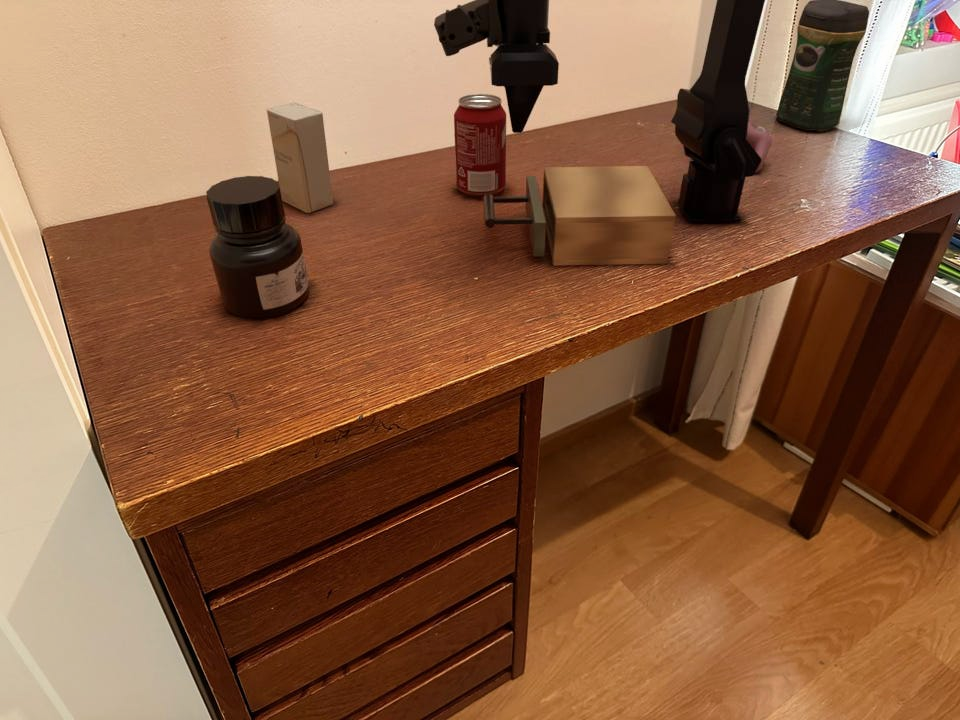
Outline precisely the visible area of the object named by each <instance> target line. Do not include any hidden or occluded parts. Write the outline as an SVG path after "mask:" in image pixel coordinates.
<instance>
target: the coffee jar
mask: <svg viewBox="0 0 960 720" xmlns="http://www.w3.org/2000/svg"><path fill="white" fill-rule="evenodd" d="M869 18H870V10H869V7H868V6H867V5H863V4H858V3H854V2H850V1H845V0H809V1H808V2H807V3H806V4H805V6H804V7H803V9H802V12H801V15H800V17H799V20H798V24H797V30H796V31H797V32H796V33H797V36H796V37H797V38H796V45H795V49H794V50H795V51H794V54H793V58H792V61H791V64H790V68H789V72H788V75H787V78H786V81H785V84H784V88H783V90H782V94H781V97H780V99H779V103H778V107H777V111H776V119H777V120H778V121H780V122H782V123H783V124H784V123H785V124H786V125H789V126H791V127H794V128H797V129H800V130H804V131H819V132H826V131H829V130H832V129H834V128H836V127H837V126H838V125H839V124H840V122H841V121H840V120H841V117H842V112H843V108H844V104H845V98H846V93H847V88H848V83H849V80H850V75H851V71H852V67H853V63H854V58H855V55H856V52H857V50H858V47H859V45H860V44H861V41H862V40H863V39H864V37H865V35H866V32H867V29H868V21H869Z"/></svg>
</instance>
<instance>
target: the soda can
mask: <svg viewBox="0 0 960 720" xmlns="http://www.w3.org/2000/svg"><path fill="white" fill-rule="evenodd" d="M502 100H503V99H502V98H501V97H500V96H497V95H494V94H488V93H472V94H466V95H463V96H461V97H460V98H458V101H457V103H458V106H457V107H456V110H455V112H453V113H454V114H453V127H454V128H453V129H454V159H455V161H454V162H455V163H454V164H455V184H456V185H455V186H456V188H457V189H458V191H460V192H462V193H464V194H465V195H467V196H471V197H476V198H477V197H478V198H484V196H485V195H486V194H491V195H492V196H494V195H496V194H497V193H499V192H501V191H502V190H504V189H505V188H506V184H507V183H506V179H507V178H506V176H507V175H506V173H507V112H506V110H505V108H504V107H503V105H502V103H503V101H502Z"/></svg>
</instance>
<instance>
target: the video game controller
mask: <svg viewBox="0 0 960 720" xmlns="http://www.w3.org/2000/svg"><path fill="white" fill-rule="evenodd" d="M746 139H747V141H748V142H749V143H750V145H751V146H752V147H753V148H754V150H755V151H756V152H757V154H758V155H759V156H760V157H761V159H762V161H761V163H760V165H759V167H758V168H757V170H756V172H755V174H757V173H759V171H760V170H761V169H762V168H763V166H764V164H765V161H766V159H767V157H768V154H769V151H770V148H771V146H772V143H773V142H772V136H771V134H770V133H769V132H768V131H767V130H766V129H765V127H762V126H760V125H757V124H755V123H753V122H750V121H749V122H748V131H747V138H746Z"/></svg>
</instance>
